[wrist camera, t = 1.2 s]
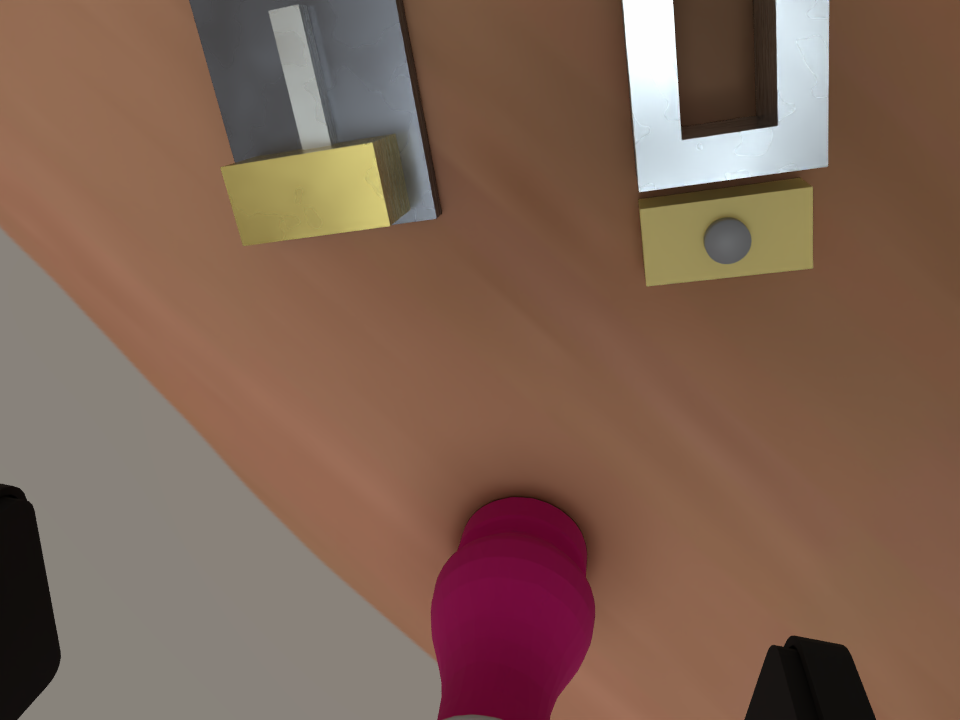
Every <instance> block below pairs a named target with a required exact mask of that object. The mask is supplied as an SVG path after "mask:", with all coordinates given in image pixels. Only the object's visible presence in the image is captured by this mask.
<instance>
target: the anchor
mask: <svg viewBox="0 0 960 720" xmlns="http://www.w3.org/2000/svg"><path fill="white" fill-rule="evenodd" d="M638 202H639V214H640V225H641V237H642V248H643V260H644V271H645V279H646V286H656V285H665V284H674V283H683V282H693V281H702V280H711V279H720V278H729V277H739V276H748V275H757V274H766V273H775V272H785V271H794V270H803V269H812V268H813V187H812V186H811V185H810V184H808V183H807V182H805V181H804V180H802V179H801V178H793V179H786V180H778V181H771V182H764V183H756V184H749V185H741V186H734V187H726V188H719V189H711V190H704V191H696V192H689V193H682V194H674V195H667V196H659V197H652V198H644V199H638Z"/></svg>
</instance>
